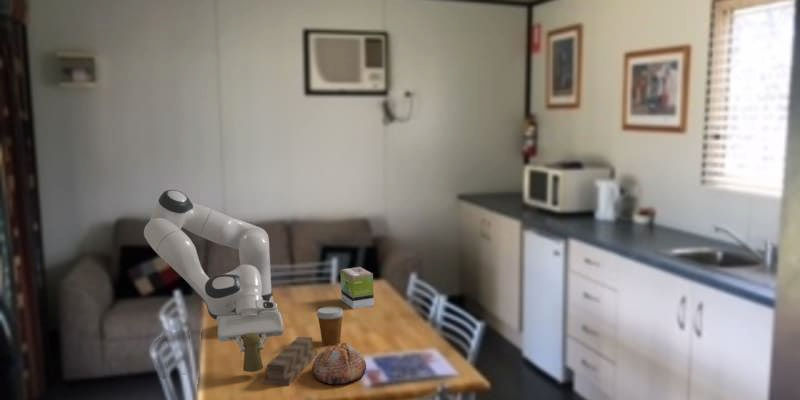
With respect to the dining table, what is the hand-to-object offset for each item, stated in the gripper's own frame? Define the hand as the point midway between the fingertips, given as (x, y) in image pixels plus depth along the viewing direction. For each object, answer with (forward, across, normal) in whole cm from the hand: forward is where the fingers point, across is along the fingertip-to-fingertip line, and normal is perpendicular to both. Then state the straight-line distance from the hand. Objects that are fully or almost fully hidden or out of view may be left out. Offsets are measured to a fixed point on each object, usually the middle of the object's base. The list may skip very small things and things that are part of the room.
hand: (252, 350), depth 198 cm
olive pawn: (+4, 0, +5) cm, 6 cm away
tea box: (-45, +46, +58) cm, 86 cm away
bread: (+10, +26, +3) cm, 28 cm away
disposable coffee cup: (-11, +28, +24) cm, 38 cm away
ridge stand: (+4, +12, +9) cm, 15 cm away
